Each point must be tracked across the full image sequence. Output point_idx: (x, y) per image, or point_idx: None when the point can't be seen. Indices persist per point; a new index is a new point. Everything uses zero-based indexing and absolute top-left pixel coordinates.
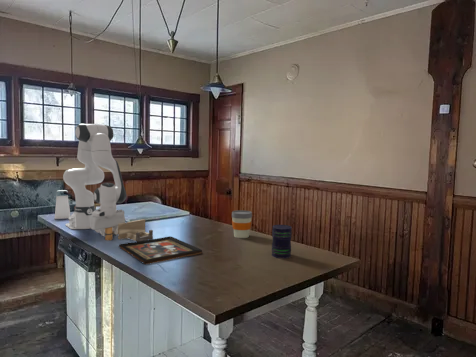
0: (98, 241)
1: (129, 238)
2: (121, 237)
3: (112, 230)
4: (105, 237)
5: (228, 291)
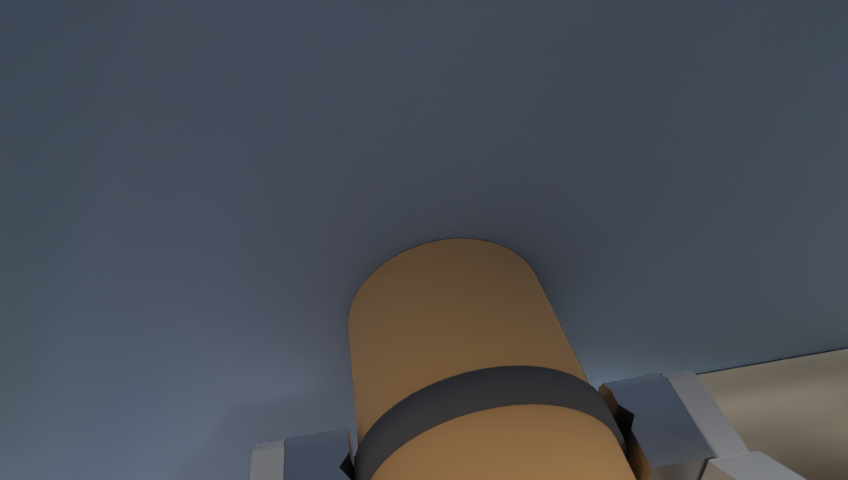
0: (126, 348)
1: None
2: None
3: (722, 470)
4: (354, 386)
5: None
